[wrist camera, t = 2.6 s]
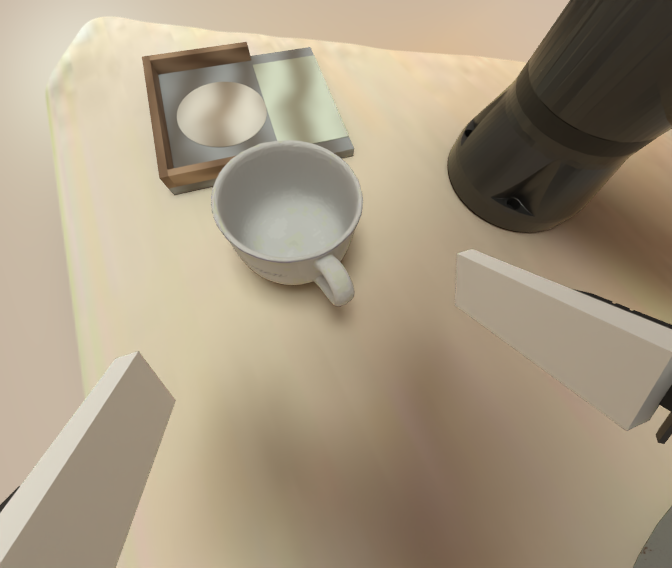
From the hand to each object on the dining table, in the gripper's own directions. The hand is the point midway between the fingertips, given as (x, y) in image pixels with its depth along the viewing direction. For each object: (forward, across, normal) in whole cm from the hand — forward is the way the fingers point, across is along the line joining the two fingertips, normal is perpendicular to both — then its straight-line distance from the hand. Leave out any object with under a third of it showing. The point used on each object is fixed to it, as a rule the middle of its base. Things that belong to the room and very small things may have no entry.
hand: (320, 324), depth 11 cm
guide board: (+29, 0, +11) cm, 31 cm away
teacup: (+15, +1, -3) cm, 16 cm away
